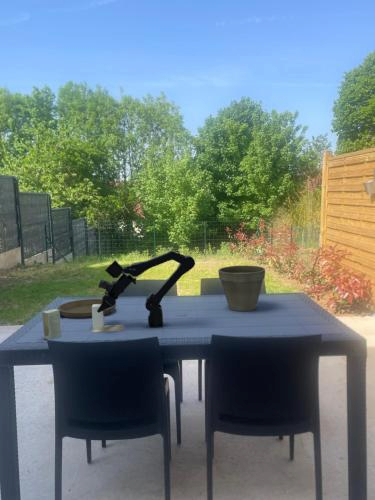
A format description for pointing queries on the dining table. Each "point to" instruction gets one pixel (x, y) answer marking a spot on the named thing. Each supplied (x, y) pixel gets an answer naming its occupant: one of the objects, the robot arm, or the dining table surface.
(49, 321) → the skincare box
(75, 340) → the dining table surface
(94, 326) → the tall white cuboid
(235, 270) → the plant pot
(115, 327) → the board
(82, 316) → the plant saucer
